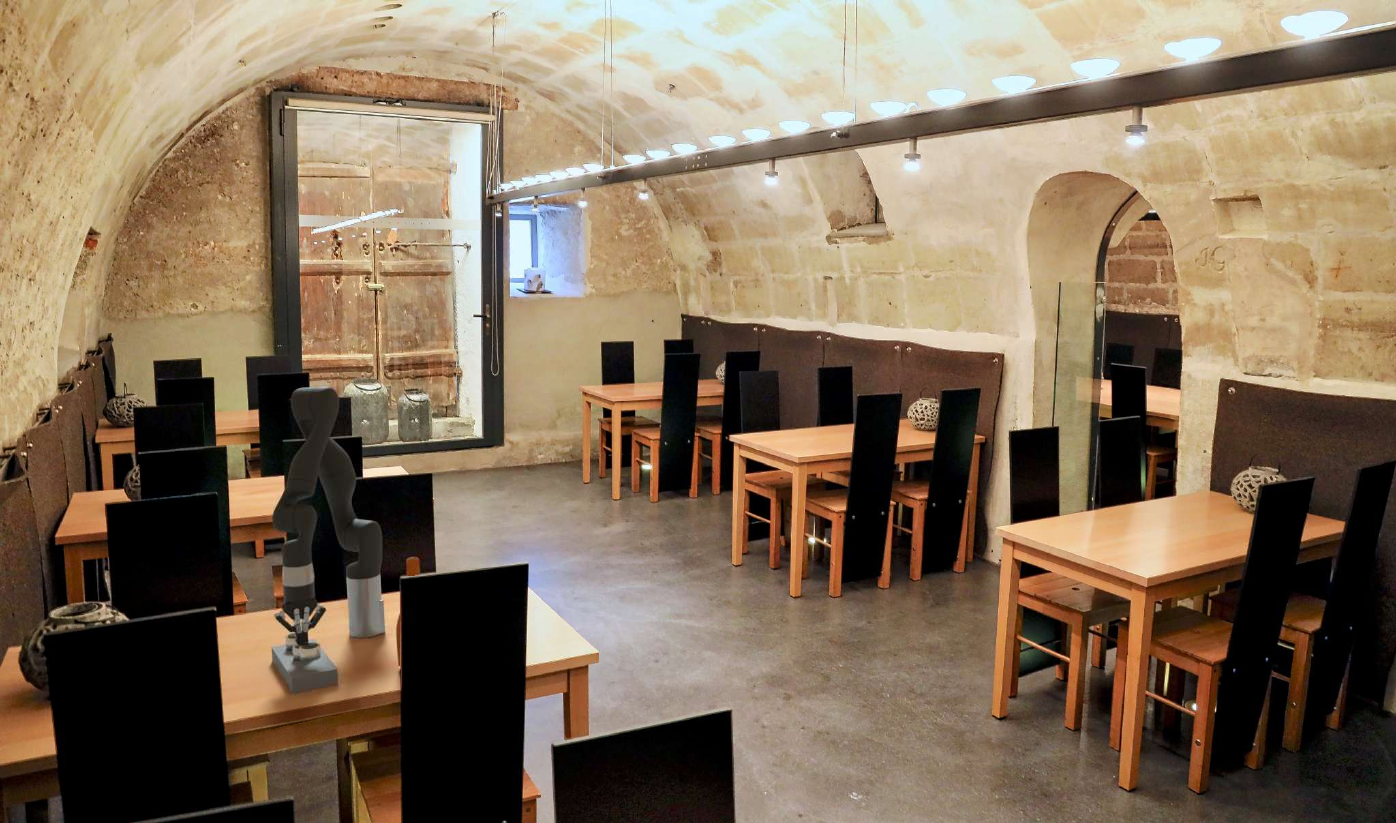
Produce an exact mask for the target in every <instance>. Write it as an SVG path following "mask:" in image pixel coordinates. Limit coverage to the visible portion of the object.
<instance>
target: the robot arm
mask: <svg viewBox="0 0 1396 823" xmlns="http://www.w3.org/2000/svg"><path fill="white" fill-rule="evenodd" d="M290 405H291V411H292V414H293V417H294V419H295V422H296V423H297V424H296V425H298V427H299V429H300V432H301V433H302V436H303V438H304V440H305V442H304V443H303V444H302V446H301V447H300V448H299V450H298V451H297V452H296V454H295V455H294V457H293V459H292V461H291V463H290V466H289V471H288V475H287V476H288V477H287V481H286V485H285V488H284V489H283V492H282V494H281V496H280V498H279V500H278V502H277V504H276V505H275V508H274V510H273V512H272V518H271V520H272V525H273V527H274V529H275V530H276V531H278V532H282V533H298V537H297V538H295V539H291V540H287V541H285V542H284V543H283V544H282V546H281V557H282V571H281V572H282V573H281V574H282V591H283V592H282V593H283V604H282V606H281V608H282V609H281V610H280V611H278V613H274V615H273V616H274V618H275V620H276V621H277V622H278V623H279V624H281V626H283V627H284V628H285V629H286V630H287V631H288V632H289V633H295V637H296V643H297V644H298V645H299V646H301V645H303V644H306V643H308V640H309V630H311V629H314V628H316V626H317V624H318V623H319V622H320V620H321V619H322V617H323V616H324V614H325V613H326V612H327V609H326V607H325V606H324V605H320V604H318V601H317V600H316V592H315V590H316V589H315V572H314V566H313V554H312V544H313V540H314V539H313V538H314V534H315V529H316V526H317V521H318V513H317V512H316V510H315V508H314V506H312V505H310V504H297V503H298V502H299V501H300V500H301V501H302V500H304V499H308V498H310V497H313V496H314V494H315V491H316V487H317V482H318V478H319V481H320V483H321V486H322V488H323V490H324V493H325V494H324V495H325V497H326V499H327V503H328V506H329V509H330V513H331V517H332V521H333V522H332V523H333V525H334V530H335V535H336V538H337V541H338V543H339V545H340V547H341V548H342V549H344V550H345V551H348V552H356V553H358V556H357V557H358V559H357V561H355V562H352V563H350V564H348V565H347V566H346V568H345V575H346V578H345V579H346V591H347V592H346V593H347V594H346V595H347V609H348V610H347V611H348V614H347V615H348V632H349V636H350V637H353V638H356V639H357V638H358V639H361V638H363V639H364V638H371V637H372V638H373V637H376V636H378V635H380V634H383V633H386V625H385V624H386V622H385V621H386V620H385V600H384V599H383V598H382V585H381V584H382V583H381V582H382V581H381V566H382V562H383V532H382V528H381V525H380V524H379V523H378V522H377V521H374V520H369V519H367V520H366V519H359V518H358V517H357V516H356V515H357V514H356V513H355V511H354V508H353V504H352V498H353V494H354V492H355V489H356V485H357V484H356V483H357V475H356V472H355V468H354V466H353V463H352V460H351V458H350V456H349V454H348V453H347V452H346V451H345V450H344V448H343V447H342V446H340V445H339V444H338V442H336V441H335V440H334V439H333V438H332V437H331V434H332V431H333V429H334V427H335V426H334V425H335V422H336V420H337V416H338V415H339V414H338V413H339V410H340V399H339V395H338V393H337V390H336V389H334V388H332V387H331V386H311V387H300V388H297V389H295V390H294V391H293V392H292V394H291V398H290ZM313 613H314V614H313ZM285 614H286V615H287V616H288V617H289V618H290V619H291V620H292V623H293V625H291V623H289V622H288V621H287V620H286V615H285ZM312 614H313V615H312ZM311 616H312V617H311ZM310 617H311V619H310Z"/></svg>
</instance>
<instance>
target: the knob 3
mask: <svg viewBox="0 0 1396 823" xmlns="http://www.w3.org/2000/svg"><path fill="white" fill-rule="evenodd" d="M320 647H321V644H320V643H318V642H317V643H307V644H303V645H301V646H300V647H299V653H300V660H301V661H305V662H308V661H314V660H317V659H319V658H321V648H322V647H321V648H320Z"/></svg>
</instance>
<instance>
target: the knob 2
mask: <svg viewBox="0 0 1396 823" xmlns="http://www.w3.org/2000/svg"><path fill="white" fill-rule="evenodd" d="M308 643H309V642H308ZM306 644H307V643H306ZM299 647H300V646H299V645H298V644H296V645H294V646H293V659H294V660H297V661H301V660H300V653H299Z"/></svg>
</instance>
